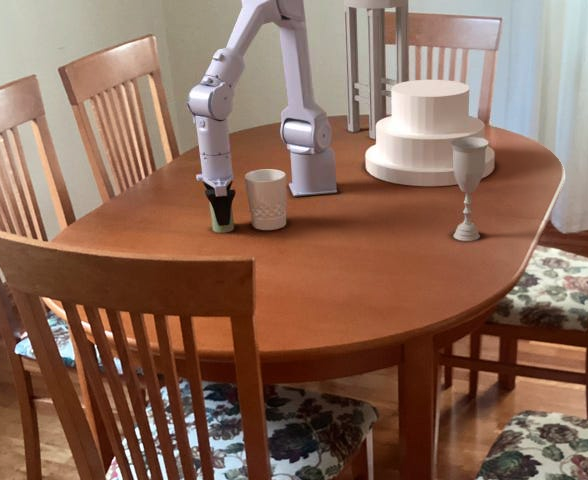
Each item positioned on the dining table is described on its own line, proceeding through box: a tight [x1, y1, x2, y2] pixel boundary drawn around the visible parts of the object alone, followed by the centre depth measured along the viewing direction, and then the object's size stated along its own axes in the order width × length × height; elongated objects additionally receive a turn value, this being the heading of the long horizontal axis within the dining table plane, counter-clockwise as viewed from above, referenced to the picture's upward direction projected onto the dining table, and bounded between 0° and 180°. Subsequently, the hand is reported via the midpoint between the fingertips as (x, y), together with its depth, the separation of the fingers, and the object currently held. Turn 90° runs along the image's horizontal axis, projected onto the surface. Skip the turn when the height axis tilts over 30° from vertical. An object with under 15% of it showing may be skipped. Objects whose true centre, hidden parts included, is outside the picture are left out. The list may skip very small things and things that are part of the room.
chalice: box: [451, 137, 490, 242], centre depth 172 cm, size 7×7×18 cm
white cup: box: [244, 168, 287, 231], centre depth 180 cm, size 8×8×10 cm
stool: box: [343, 0, 410, 140], centre depth 232 cm, size 16×16×35 cm
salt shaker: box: [208, 200, 235, 234], centre depth 179 cm, size 4×4×8 cm
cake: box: [364, 79, 496, 187], centre depth 210 cm, size 30×30×18 cm
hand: (222, 220), depth 180 cm, fingers open, 4 cm apart
